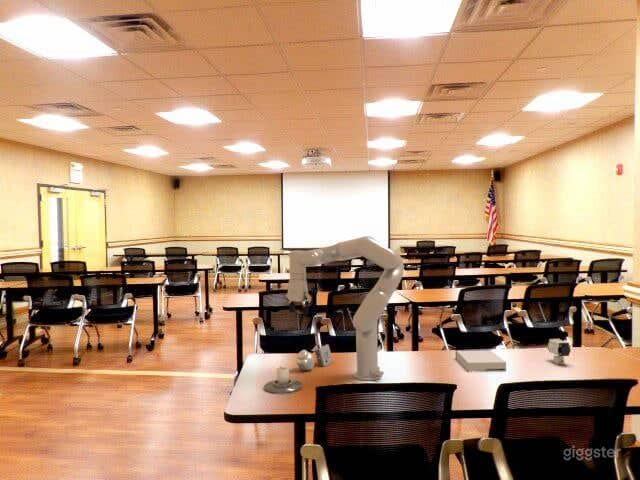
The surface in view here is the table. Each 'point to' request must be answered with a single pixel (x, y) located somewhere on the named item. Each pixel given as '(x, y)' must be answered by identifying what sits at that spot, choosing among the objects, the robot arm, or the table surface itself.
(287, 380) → the white rounded cylinder
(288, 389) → the socket
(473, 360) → the disc drive
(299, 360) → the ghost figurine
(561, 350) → the security camera
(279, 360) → the table surface
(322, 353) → the electrical switch
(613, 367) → the table surface
